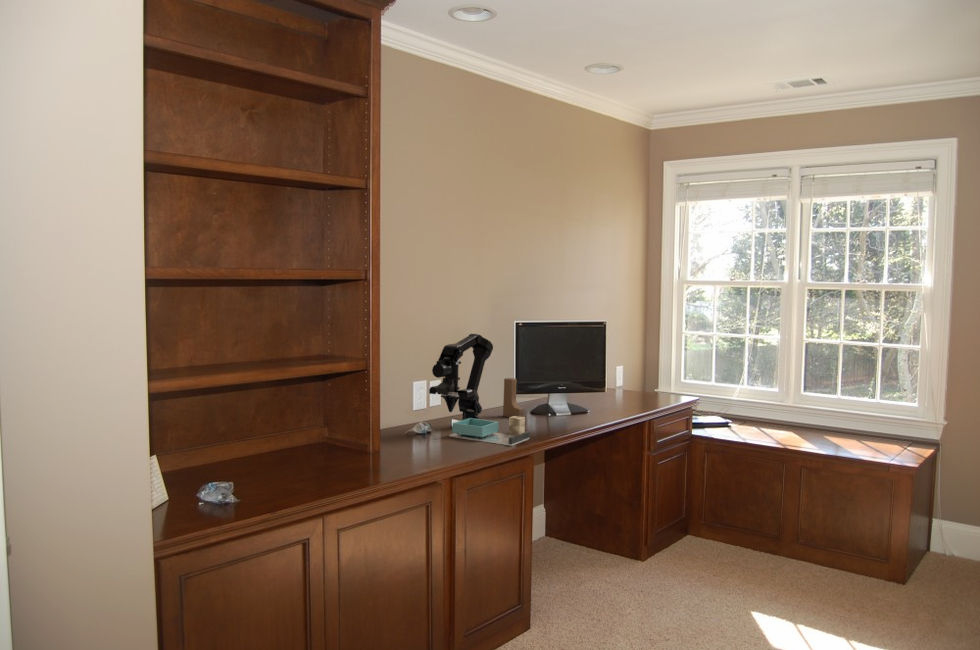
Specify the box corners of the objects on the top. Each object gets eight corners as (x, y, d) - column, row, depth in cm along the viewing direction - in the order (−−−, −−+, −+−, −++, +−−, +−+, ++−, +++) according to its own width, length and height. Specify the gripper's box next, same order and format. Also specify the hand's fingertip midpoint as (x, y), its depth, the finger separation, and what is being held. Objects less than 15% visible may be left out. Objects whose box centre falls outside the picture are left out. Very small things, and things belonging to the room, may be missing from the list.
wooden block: (523, 417, 360) (525, 379, 359) (518, 418, 356) (520, 380, 355) (507, 415, 365) (509, 377, 364) (502, 416, 361) (503, 378, 360)
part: (508, 434, 320) (509, 417, 320) (514, 432, 325) (514, 415, 324) (519, 435, 318) (519, 419, 318) (524, 433, 322) (525, 417, 322)
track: (448, 436, 312) (449, 429, 312) (468, 430, 326) (468, 423, 326) (511, 445, 298) (511, 438, 298) (529, 438, 312) (529, 431, 312)
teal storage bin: (452, 434, 312) (452, 423, 312) (469, 428, 324) (469, 418, 324) (481, 438, 305) (482, 427, 305) (498, 432, 318) (498, 421, 317)
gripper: (422, 375, 317) (421, 412, 318) (460, 379, 308) (459, 417, 309) (436, 372, 327) (435, 408, 328) (474, 376, 318) (473, 413, 319)
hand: (450, 412), depth 321 cm, fingers closed
